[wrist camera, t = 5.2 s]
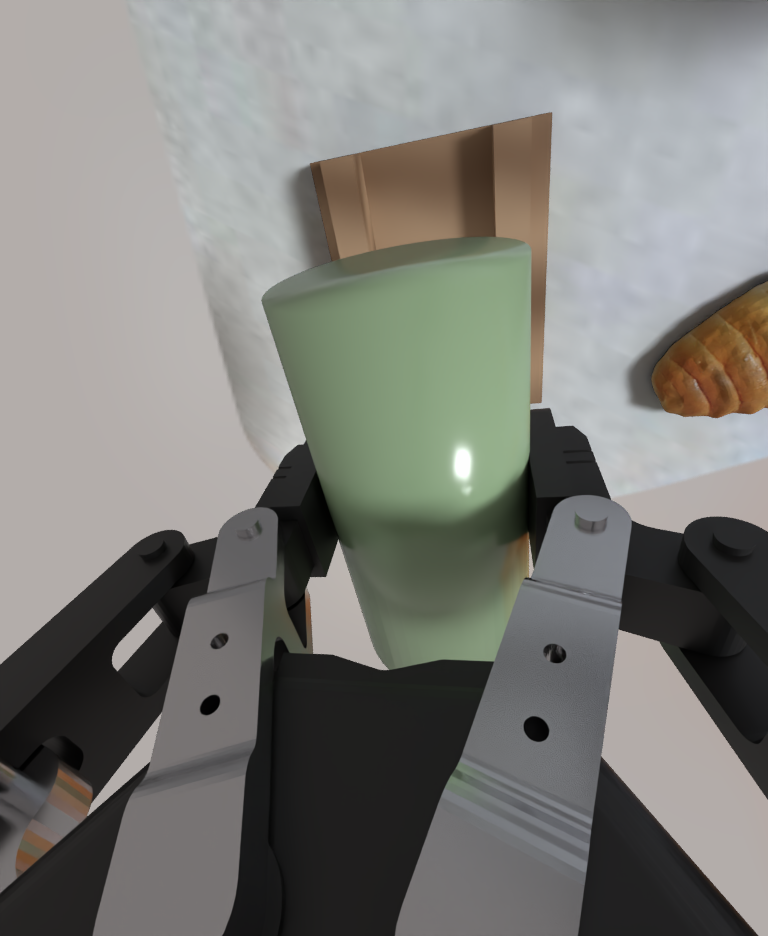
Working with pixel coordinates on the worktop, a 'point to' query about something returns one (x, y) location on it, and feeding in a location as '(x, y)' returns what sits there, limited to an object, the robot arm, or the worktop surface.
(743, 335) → the pastry
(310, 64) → the worktop surface
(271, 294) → the bottle
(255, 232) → the worktop surface
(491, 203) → the cradle
